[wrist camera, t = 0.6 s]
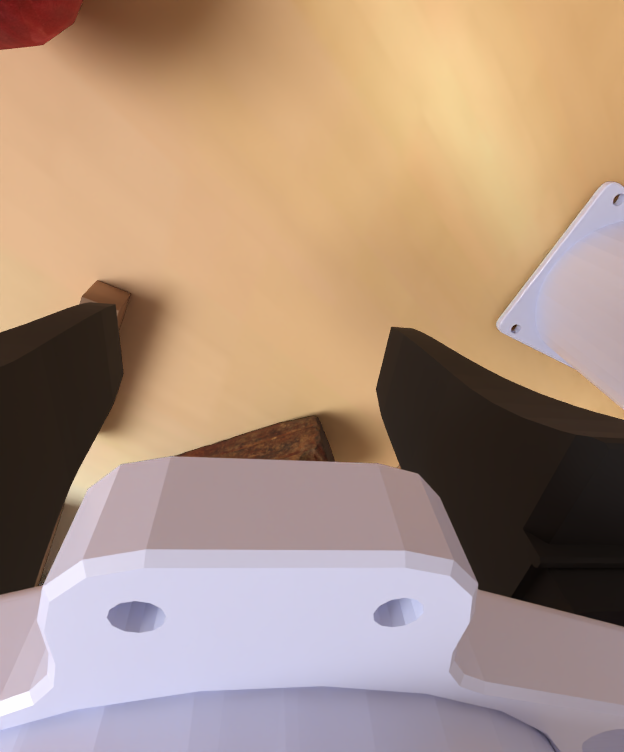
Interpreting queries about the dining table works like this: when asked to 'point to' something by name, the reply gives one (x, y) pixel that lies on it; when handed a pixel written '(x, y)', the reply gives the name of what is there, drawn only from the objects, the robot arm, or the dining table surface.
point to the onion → (34, 21)
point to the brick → (274, 443)
